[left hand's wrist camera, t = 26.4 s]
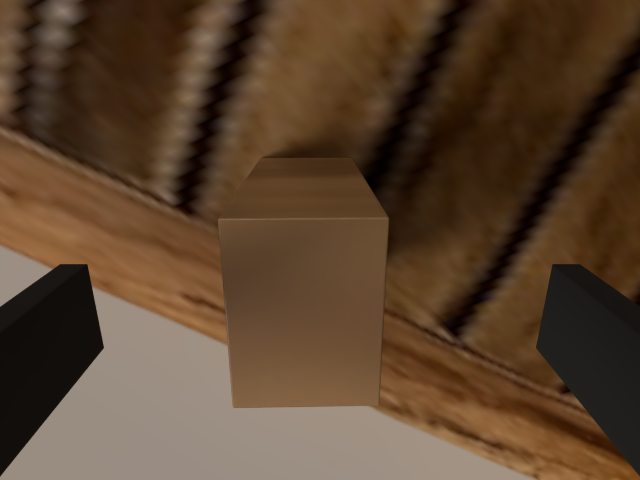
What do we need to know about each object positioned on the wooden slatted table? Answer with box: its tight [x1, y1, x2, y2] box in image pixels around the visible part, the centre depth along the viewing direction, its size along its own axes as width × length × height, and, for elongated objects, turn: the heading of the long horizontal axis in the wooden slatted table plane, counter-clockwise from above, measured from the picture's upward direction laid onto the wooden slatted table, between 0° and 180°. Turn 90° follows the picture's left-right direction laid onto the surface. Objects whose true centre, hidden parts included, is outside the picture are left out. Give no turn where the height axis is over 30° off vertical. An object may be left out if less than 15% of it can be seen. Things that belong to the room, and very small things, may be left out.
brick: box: [218, 158, 389, 408], centre depth 18 cm, size 6×5×11 cm
